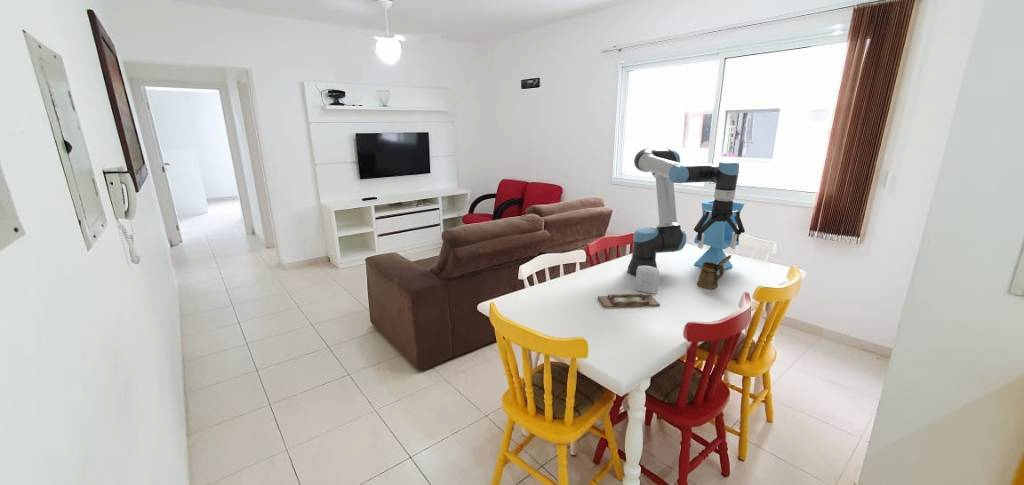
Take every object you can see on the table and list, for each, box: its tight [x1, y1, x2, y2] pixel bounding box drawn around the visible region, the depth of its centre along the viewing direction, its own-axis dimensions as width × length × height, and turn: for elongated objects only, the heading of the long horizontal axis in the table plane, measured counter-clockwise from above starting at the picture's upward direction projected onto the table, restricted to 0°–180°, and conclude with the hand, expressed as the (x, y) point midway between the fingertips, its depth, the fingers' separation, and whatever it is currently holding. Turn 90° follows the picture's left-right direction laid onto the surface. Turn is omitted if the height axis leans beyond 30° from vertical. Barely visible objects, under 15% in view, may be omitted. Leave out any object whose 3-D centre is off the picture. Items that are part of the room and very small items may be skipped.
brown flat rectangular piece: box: [597, 293, 661, 308], centre depth 175 cm, size 24×10×3 cm, turn 93°
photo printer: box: [634, 266, 661, 295], centre depth 185 cm, size 10×4×12 cm, turn 61°
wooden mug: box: [696, 254, 732, 291], centre depth 188 cm, size 9×14×18 cm, turn 35°
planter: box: [693, 199, 745, 273], centre depth 214 cm, size 16×16×35 cm
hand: (716, 248), depth 174 cm, fingers open, 13 cm apart
